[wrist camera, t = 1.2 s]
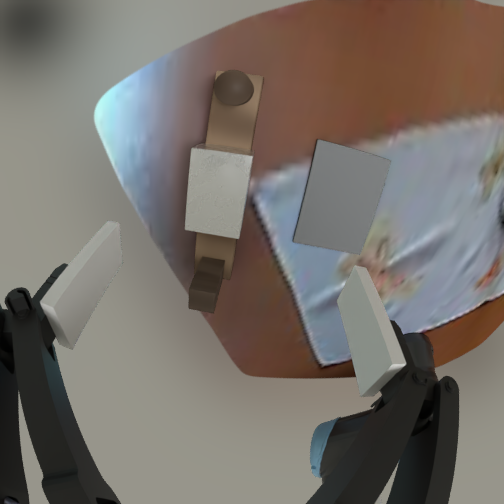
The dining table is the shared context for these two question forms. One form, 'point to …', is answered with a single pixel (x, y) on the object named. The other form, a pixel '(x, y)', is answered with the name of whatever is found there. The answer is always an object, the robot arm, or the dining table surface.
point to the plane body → (233, 135)
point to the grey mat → (340, 197)
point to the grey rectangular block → (218, 189)
